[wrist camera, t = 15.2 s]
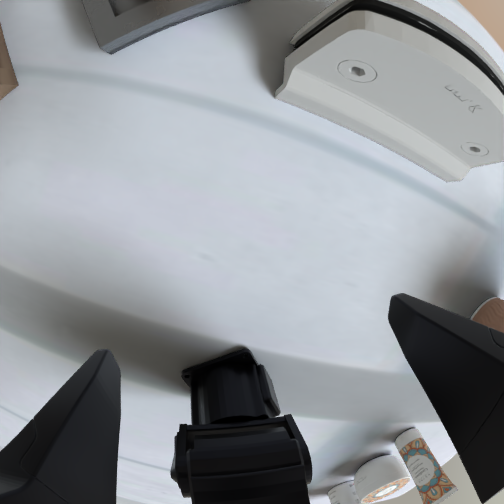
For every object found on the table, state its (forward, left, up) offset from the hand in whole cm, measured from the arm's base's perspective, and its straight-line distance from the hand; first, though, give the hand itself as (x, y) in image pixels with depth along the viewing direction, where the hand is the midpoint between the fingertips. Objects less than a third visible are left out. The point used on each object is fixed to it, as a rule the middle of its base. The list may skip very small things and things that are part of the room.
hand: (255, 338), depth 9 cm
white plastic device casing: (+14, +3, -13) cm, 20 cm away
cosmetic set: (+5, -51, -13) cm, 53 cm away
